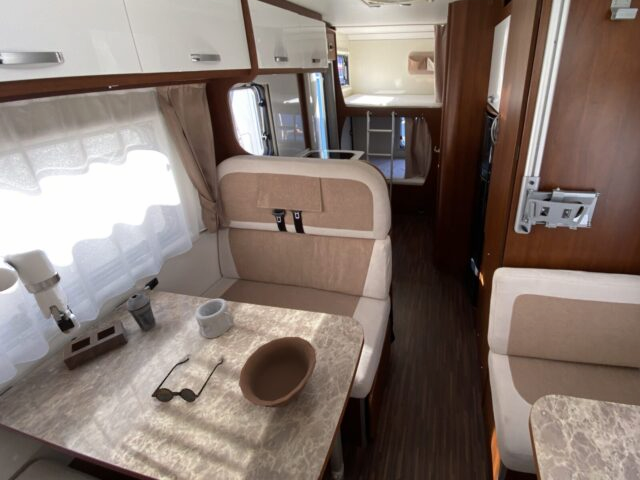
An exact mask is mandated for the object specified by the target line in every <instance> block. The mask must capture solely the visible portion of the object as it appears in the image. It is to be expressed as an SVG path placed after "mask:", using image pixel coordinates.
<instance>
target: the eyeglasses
mask: <svg viewBox="0 0 640 480" xmlns="http://www.w3.org/2000/svg"><path fill="white" fill-rule="evenodd" d="M189 360H190V357H187V358H186V359H185V360H183V361H180V362H177V363H176V364H175V365H174V366H172V368H171V370H170V371H168V373H167V375H165V377H164V378H163V379H162V381H161V382H160V383H159V385H158V386H157V387H156V389H155V390H154V391H153V393H152V394H151V398H156V400H157V401H159V402H161V403H169V402H171V401H172V400H173V399H174V397H180V398H181V399H182V401H185V402H187V403H194V402H195V401H196V399H198V398H199V397H200V396H201V394H202V392H203V391H204V390H205V388H206V386H207V384H208V383H209V381H210V380H211V377H212V376H213V375H214V372H215V371H216V369H217V368H218V367H219V366H221V365H222V364H223V363H224V358H221V362H218V363H217V364H216V365H215V366H214V368H213V369H212V371H211V373H210V374H209V375H208V378H206V380H205V382H204V384H203V385H202V387H201V388H200V390H199V392H197V394H196V393H195V392H194V391H193V389H191V388H188V387H185V388H182V389H181V390H180V391H172V389H170V388H168V387H162V386H163V385H164V384H165V382H166V381H167V379H168V378H169V376H170V375H171V374H172V372H173V371H174V370H175V369H176V367H178V366H180V365H183V364H186V362H188V361H189Z"/></svg>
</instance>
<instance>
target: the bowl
mask: <svg viewBox="0 0 640 480" xmlns="http://www.w3.org/2000/svg"><path fill="white" fill-rule="evenodd" d="M316 364H317V355H316V349H315V348H314V346H313V345H312V343H311V342H310V341H309V340H307V339H304V338H302V337H300V336H284V337H278V338H275V339H271V340H269V341H267V342H266V343H264V344H262V345H260V346H259V347H258V348H257V349H256V350H255V351H254V352H252V354H250V355H249V357H248V358H247V359H246V361H245V362H244V364H243V366H242V367H241V370H240V375H239V381H238V387H239V389H240V391H241V394H242V396H243V397H244V398H245V399H246V400H248V401H249V402H251V403H252V404H253V405H255V406H263V407H265V408H275V409H276V408H277V409H278V408H281V407H283V406H286V405H288V404H290V403H291V402H292V401H293V400H295V399H296V398H297V397H298V396H299V395H300V394H301V392H302V391H304V389H305V387H306V386H307V383H308V381H309V379H310V378H311V377H312V375H313V373H314V370H315V367H316Z"/></svg>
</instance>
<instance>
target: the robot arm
mask: <svg viewBox="0 0 640 480" xmlns="http://www.w3.org/2000/svg"><path fill="white" fill-rule="evenodd" d="M18 280H20V281H21V283H22V286H23V287H24V288H25V290H26V291H27V293H28V294H31V295H33V297H34V299H35V302H36V304H37V306H38V308H39V309H40V311H41V314H42V315H43V317H44V319H45V320H50V319H51V318H52V317H53V319H54V321H55V323H56V325H57V327H58V328H59V330H60V332H62V333H63V332H64V331H67V330H69V329H71V328H74V327H75V325H74V323H73V322H72V320H71V318H70V317H69V318H68V316H67V314H66V311H67V310H69V311H70V312H71V314H74V313H73V311H72V309H71V308H70V307H69V305H68V297H67V296H68V295H67V294H66V293H65V291H64V289H63V287H62V286H61V284H60V283H61V282H62V277H61V276H60V274H59V273H58V270H57V269H56V267H55V266H54V263H53V262H52V260H51V258H50V257H49V255H48V253H47V251H46V250H45V247H43V246H42V245H39V244H30V245H26V246H23V247H20V248H16V249H15V250H13V251H11V252H6V253H2V254H0V293H1V292H5V291H6V290H9V289H11V288H12V287H13V286H14V285H15V284H16V283H17V282H18ZM61 311H62V312H61ZM61 314H63V315H64V316H60V315H61Z"/></svg>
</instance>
